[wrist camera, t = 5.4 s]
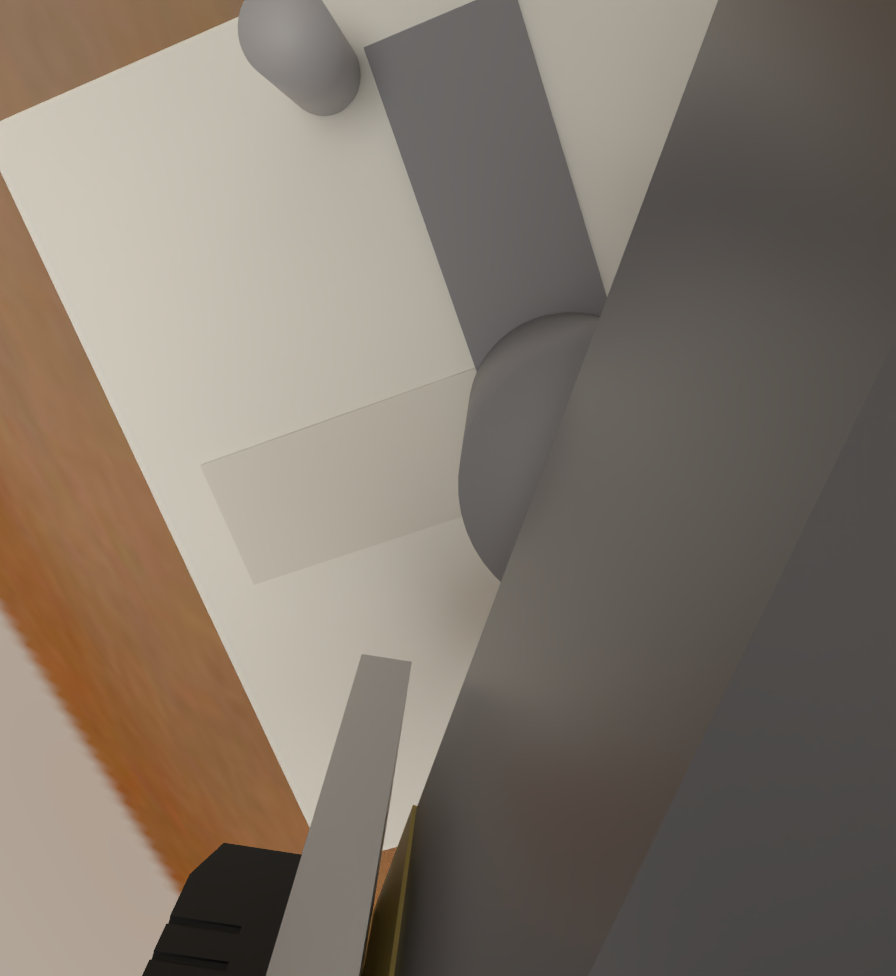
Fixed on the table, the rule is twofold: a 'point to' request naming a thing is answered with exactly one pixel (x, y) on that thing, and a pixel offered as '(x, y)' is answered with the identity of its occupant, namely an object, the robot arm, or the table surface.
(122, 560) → the table surface
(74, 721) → the table surface
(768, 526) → the grey yellow rectangular block
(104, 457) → the table surface
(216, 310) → the base plate
